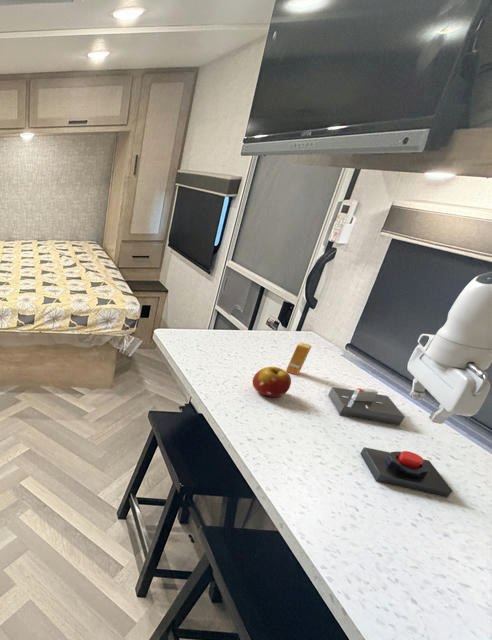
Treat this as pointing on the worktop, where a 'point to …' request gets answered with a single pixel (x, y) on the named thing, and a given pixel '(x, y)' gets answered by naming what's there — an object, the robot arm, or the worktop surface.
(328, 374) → the worktop surface
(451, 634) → the worktop surface
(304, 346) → the supplement box
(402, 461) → the button
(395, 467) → the switch
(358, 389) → the stove knob
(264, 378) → the fruit
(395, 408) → the panel
